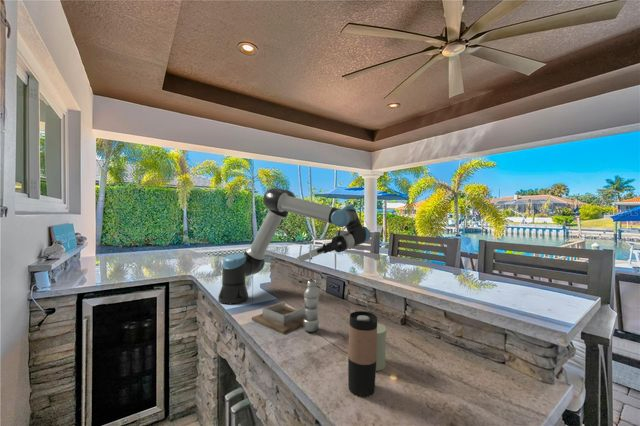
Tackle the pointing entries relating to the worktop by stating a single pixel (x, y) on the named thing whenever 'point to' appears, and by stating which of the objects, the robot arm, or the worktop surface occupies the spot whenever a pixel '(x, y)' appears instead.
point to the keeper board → (279, 327)
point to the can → (380, 347)
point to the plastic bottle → (311, 307)
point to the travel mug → (362, 353)
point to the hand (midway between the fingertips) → (303, 257)
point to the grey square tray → (273, 314)
